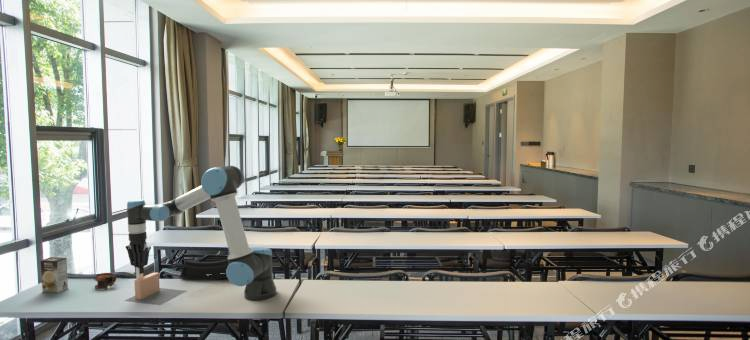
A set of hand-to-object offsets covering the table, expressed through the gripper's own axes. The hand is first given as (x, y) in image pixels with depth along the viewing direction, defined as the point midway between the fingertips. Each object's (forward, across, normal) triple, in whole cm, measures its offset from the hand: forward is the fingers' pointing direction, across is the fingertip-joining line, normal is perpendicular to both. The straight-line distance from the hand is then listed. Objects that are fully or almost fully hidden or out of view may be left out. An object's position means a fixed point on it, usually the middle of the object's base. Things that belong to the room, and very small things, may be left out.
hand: (140, 279), depth 204 cm
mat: (+8, -9, 0) cm, 12 cm away
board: (+7, -4, 0) cm, 8 cm away
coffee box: (+8, +47, +5) cm, 48 cm away
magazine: (+8, -18, -29) cm, 35 cm away
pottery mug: (+8, +26, -5) cm, 28 cm away
